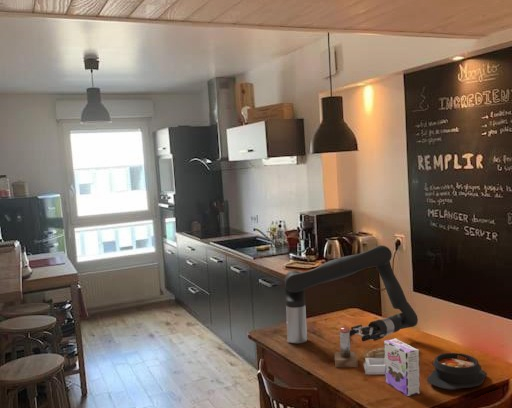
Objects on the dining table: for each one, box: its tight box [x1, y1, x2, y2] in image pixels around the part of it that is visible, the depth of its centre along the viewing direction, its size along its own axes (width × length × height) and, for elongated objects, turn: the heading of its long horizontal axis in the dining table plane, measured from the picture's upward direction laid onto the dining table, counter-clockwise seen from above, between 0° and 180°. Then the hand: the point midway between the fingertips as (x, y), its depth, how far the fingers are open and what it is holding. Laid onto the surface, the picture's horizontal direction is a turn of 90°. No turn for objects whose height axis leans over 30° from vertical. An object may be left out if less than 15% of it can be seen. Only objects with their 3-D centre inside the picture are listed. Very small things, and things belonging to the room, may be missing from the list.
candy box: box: [383, 338, 421, 397], centre depth 192 cm, size 14×6×16 cm, turn 21°
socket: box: [362, 357, 385, 375], centre depth 210 cm, size 10×10×3 cm
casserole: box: [426, 352, 488, 391], centre depth 195 cm, size 25×19×8 cm
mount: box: [333, 351, 359, 368], centre depth 218 cm, size 9×9×3 cm
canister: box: [339, 325, 351, 358], centre depth 218 cm, size 4×4×12 cm
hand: (355, 336), depth 221 cm, fingers open, 8 cm apart
